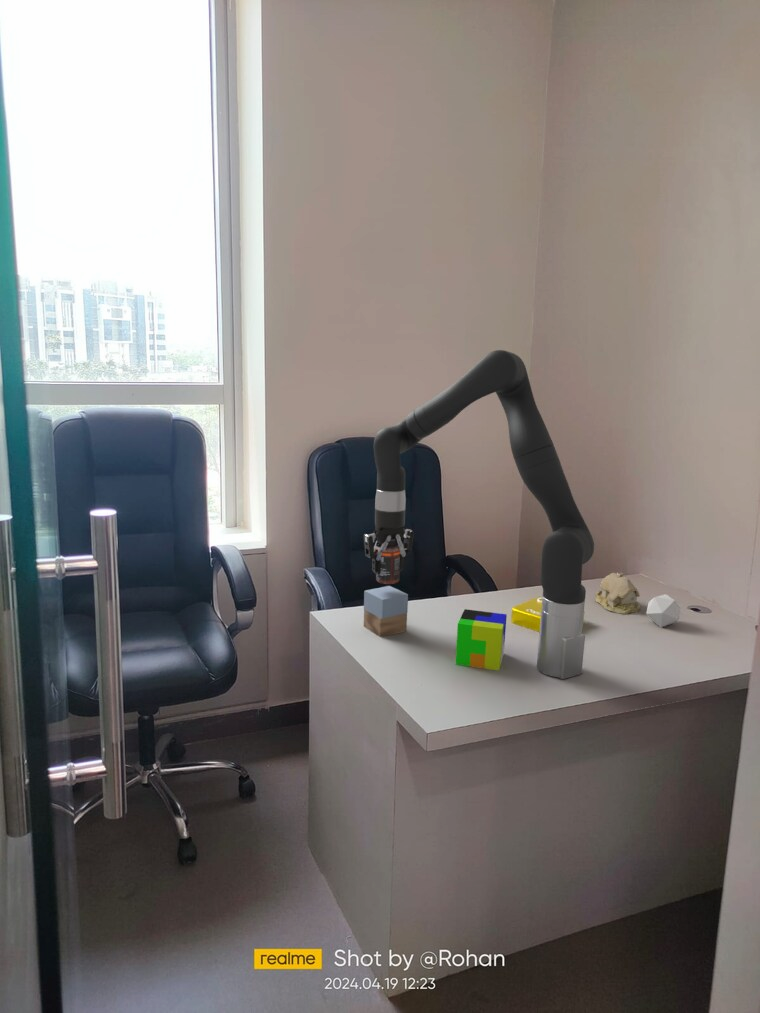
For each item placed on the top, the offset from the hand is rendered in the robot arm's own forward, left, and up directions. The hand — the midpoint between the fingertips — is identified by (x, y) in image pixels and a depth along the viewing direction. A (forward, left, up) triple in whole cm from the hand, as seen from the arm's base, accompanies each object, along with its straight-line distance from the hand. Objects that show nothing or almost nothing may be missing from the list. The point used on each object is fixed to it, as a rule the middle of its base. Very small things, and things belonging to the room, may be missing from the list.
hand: (388, 571), depth 183 cm
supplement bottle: (0, 0, -3) cm, 3 cm away
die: (-31, -69, -16) cm, 77 cm away
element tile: (-16, -41, -16) cm, 47 cm away
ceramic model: (-15, -70, -16) cm, 73 cm away
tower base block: (0, 0, -16) cm, 16 cm away
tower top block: (0, 0, -11) cm, 11 cm away
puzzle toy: (-26, -10, -16) cm, 32 cm away
